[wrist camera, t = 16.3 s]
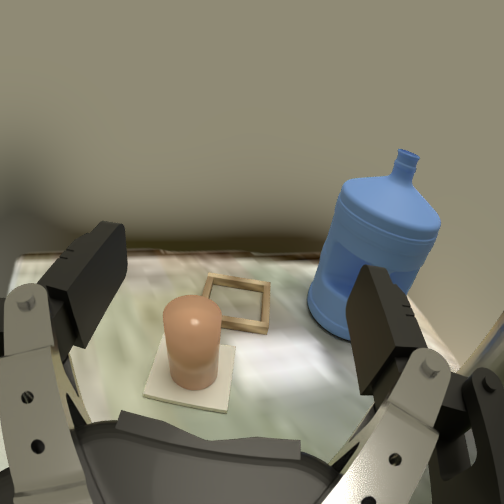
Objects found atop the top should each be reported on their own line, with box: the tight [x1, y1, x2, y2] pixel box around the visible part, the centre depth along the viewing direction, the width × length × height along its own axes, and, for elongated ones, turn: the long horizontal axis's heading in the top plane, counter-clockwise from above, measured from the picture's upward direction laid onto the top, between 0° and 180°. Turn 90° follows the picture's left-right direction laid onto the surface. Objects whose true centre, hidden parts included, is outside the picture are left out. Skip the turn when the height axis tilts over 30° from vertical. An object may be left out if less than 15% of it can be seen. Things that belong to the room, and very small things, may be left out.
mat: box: [143, 334, 236, 414], centre depth 37 cm, size 10×10×1 cm
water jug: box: [307, 149, 441, 341], centre depth 44 cm, size 16×16×28 cm
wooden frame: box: [202, 273, 270, 335], centre depth 49 cm, size 10×10×2 cm
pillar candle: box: [163, 295, 222, 390], centre depth 35 cm, size 6×8×10 cm
